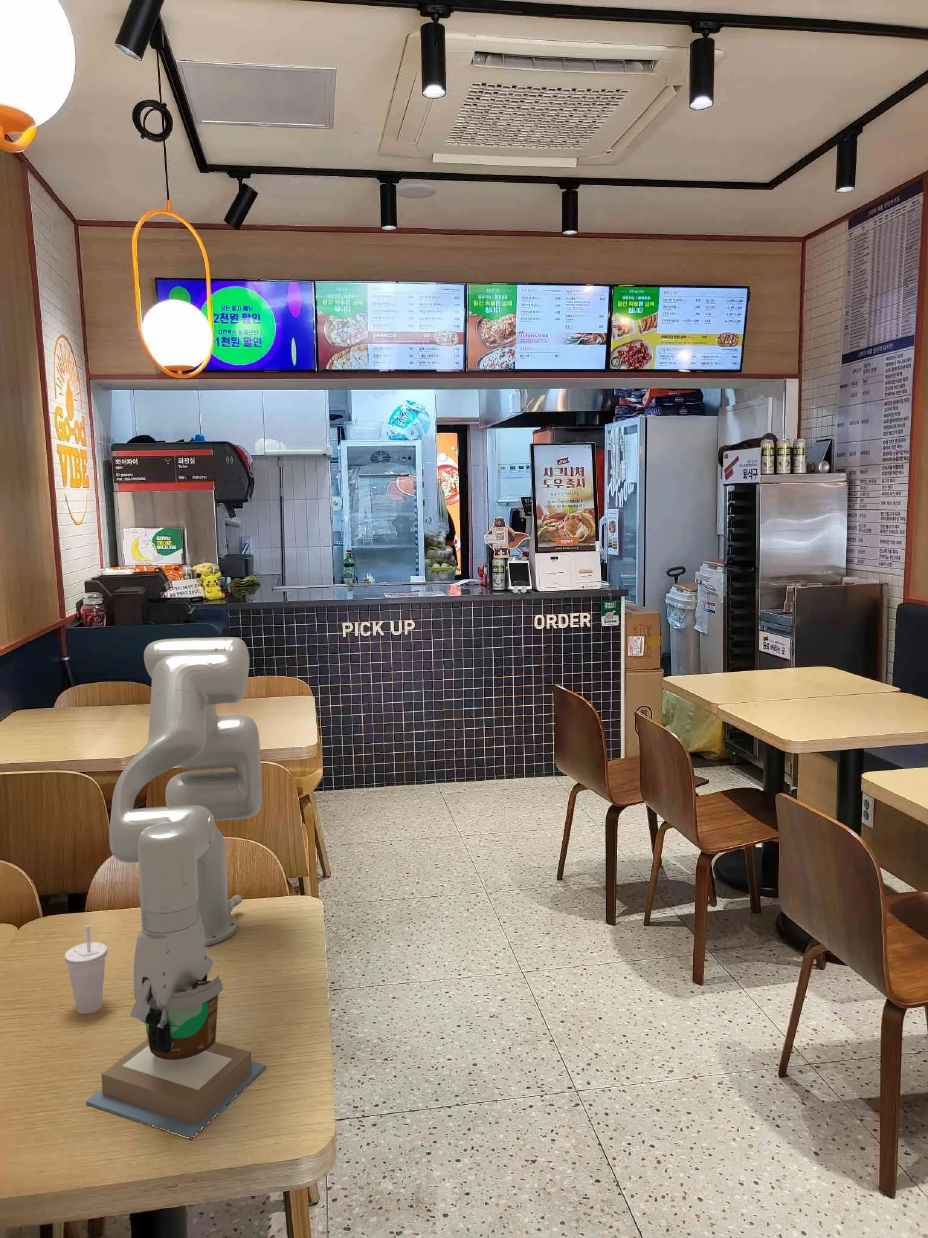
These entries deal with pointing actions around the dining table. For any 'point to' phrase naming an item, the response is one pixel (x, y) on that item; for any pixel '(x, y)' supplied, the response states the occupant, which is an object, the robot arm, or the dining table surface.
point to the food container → (191, 1019)
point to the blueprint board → (175, 1086)
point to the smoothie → (87, 974)
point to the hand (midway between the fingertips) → (176, 1036)
